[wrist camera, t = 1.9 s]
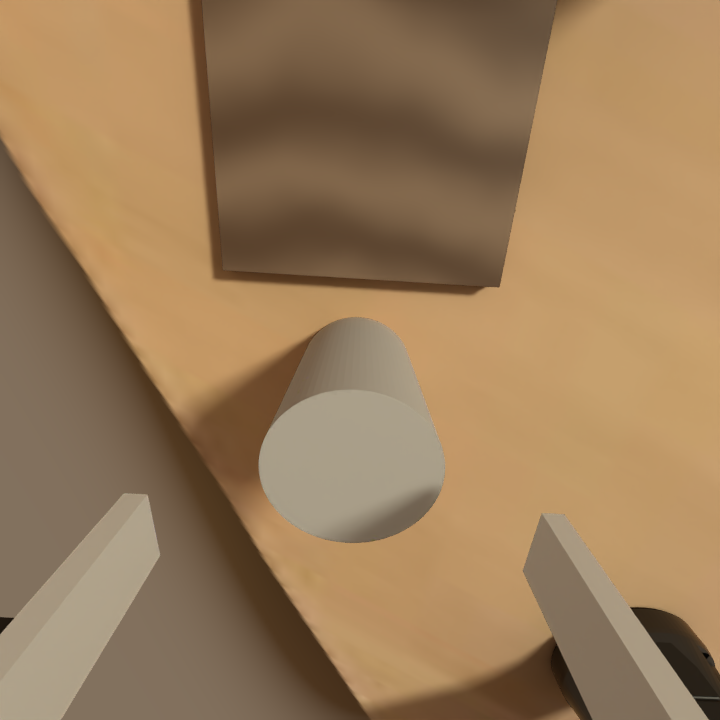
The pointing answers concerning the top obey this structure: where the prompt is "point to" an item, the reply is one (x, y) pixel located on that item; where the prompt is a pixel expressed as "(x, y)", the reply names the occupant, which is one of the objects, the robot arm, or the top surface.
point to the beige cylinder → (353, 438)
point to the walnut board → (372, 133)
